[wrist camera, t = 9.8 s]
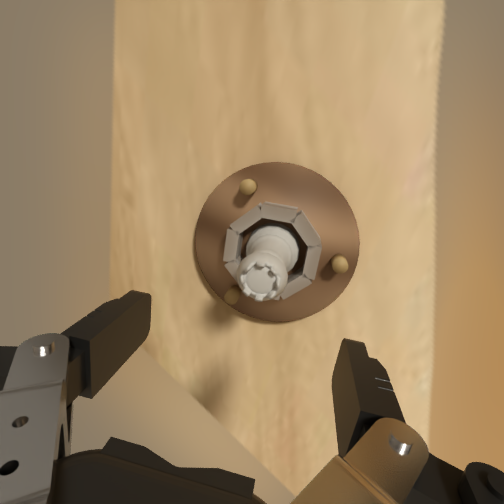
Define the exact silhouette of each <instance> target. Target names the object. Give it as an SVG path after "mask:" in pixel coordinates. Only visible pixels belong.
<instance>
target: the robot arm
mask: <svg viewBox="0 0 504 504" xmlns="http://www.w3.org/2000/svg"><path fill="white" fill-rule="evenodd" d="M150 321H151V295H150V294H148V293H143V292H139V291H135V290H131V291H129V292H128V293H127V294H125V295H124V296H123V297H121V298H120V299H114V300H111V301H109V302H106V303H104V304H102V305H101V306H99V307H98V308H97V309H95V311H92V312H91V313H89V314H88V315H87V317H86V316H85V317H84V318H82V319H81V320H80V321H78V322H77V323H75V324H74V325H72V326H71V327H70V328H68V329H67V330H65V331H64V332H62V333H61V334H57V333H48V334H42V335H38V336H35V337H32V338H30V339H28V340H26V341H24V342H23V343H21V345H19V346H18V347H12V346H10V347H9V346H0V504H266V503H265V502H264V501H263V500H262V499H260V498H259V497H257V496H256V495H254V494H253V489H254V483H255V479H253V478H249V477H245V476H242V475H239V474H236V473H232V472H229V471H225V470H222V469H219V468H181V467H176V466H174V465H172V464H170V463H169V462H167V461H166V460H164V459H163V458H161V457H160V456H158V455H157V454H155V453H154V452H152V451H151V450H149V449H148V448H146V447H144V446H141V445H137V444H134V443H131V442H127V441H124V440H120V439H117V438H113V437H111V438H110V439H109V440H108V442H107V443H106V445H105V446H104V447H103V449H95V450H88V451H83V452H78V453H75V454H72V455H70V451H71V435H72V419H73V401H74V400H75V399H76V398H77V396H78V395H79V396H83V397H86V398H90V399H92V398H93V397H94V396H95V395H96V394H97V393H98V391H99V390H100V389H101V388H102V387H103V386H104V385H105V384H106V383H107V382H108V380H109V379H110V378H111V377H112V376H113V375H114V374H115V373H116V372H117V371H118V369H119V368H120V367H121V366H122V365H123V364H124V363H125V362H126V361H127V359H128V358H129V357H130V356H131V355H132V354H133V353H134V352H135V351H136V350H137V349H138V347H139V346H140V345H141V344H142V343H143V342H144V341H145V339H146V338H147V336H148V333H149V330H150ZM332 394H333V404H334V413H335V423H336V432H337V442H338V451H339V454H338V455H336V456H335V457H333V458H332V459H331V461H330V462H329V463H328V464H327V465H326V466H325V467H324V468H323V469H322V470H321V471H320V472H319V473H318V474H317V475H316V476H315V478H314V479H313V480H312V481H311V482H310V483H309V484H308V485H307V486H306V487H305V488H304V489H303V490H302V491H301V492H300V493H299V495H298V496H297V497H296V498H295V499H294V500H293V501H292V502H291V503H290V504H504V473H503V472H502V471H500V470H498V469H497V468H495V467H493V466H491V465H488V464H485V463H481V462H472V463H469V464H468V465H467V467H466V468H465V470H464V471H462V470H460V469H458V468H456V467H454V466H452V465H450V464H448V463H447V462H445V461H443V460H441V459H439V458H437V457H435V456H434V455H432V454H431V453H429V451H428V447H427V445H426V443H425V441H424V440H423V438H422V437H421V436H420V435H419V434H418V433H417V432H416V431H415V430H414V429H413V428H411V427H410V426H409V425H407V424H406V422H405V420H404V417H403V414H402V411H401V409H400V406H399V403H398V401H397V398H396V395H395V393H394V392H393V387H392V385H391V383H390V379H389V377H388V374H387V371H386V369H385V368H384V367H383V366H382V365H381V363H380V362H379V361H378V360H377V359H374V358H370V357H369V356H368V353H367V350H366V347H365V344H364V343H363V342H359V341H354V340H350V339H345V338H344V339H343V340H342V343H341V346H340V350H339V353H338V357H337V360H336V364H335V367H334V371H333V376H332Z"/></svg>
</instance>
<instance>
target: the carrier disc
mask: <svg viewBox="0 0 504 504" xmlns="http://www.w3.org/2000/svg"><path fill="white" fill-rule="evenodd" d="M267 223H279V224H282V225H284V226H286V227H288V228H290V229H291V230H292V232H293V233H294V234H295V235H296V236H297V239H298V242H299V245H300V251H299V257H298V260H297V262H296V264H295V265H294V267H293V269H291V270H290V271H289V272H287V274H288V280H287V286H286V287H285V289H284V291H283V293H281V294H280V295H279V296H277V297H276V298H275V299H271V300H266V301H262V302H258V301H255V299H253V298H251V297H250V296H248V297H247V296H246V295H245V294H244V293H243V292H242V289H241V288H240V286H239V284H238V281H237V268H238V266H239V264H240V262H241V261H242V260H243V259H244V258H245V257H247V256H246V244H247V242H248V240H249V238H250V236H251V234H252V232H253V231H254V230H256V229H257V228H258V227H259V226H261V225H264V224H267ZM195 244H196V253H197V258H198V262H199V265H200V267H201V270H202V272H203V274H204V276H205V278H206V280H207V282H208V283H209V285H210V286H211V288H212V289H213V290H214V291H215V293H216V294H217V295H218V296H219V297H220V298H221V299H222V300H223V301H225V302H226V303H227V304H228V305H230V306H231V307H233V308H234V309H236V310H238V311H239V312H241V313H243V314H246V315H248V316H250V317H254V318H257V319H261V320H267V321H278V322H282V321H293V320H298V319H302V318H305V317H308V316H311V315H313V314H315V313H317V312H319V311H321V310H322V309H324V308H326V307H327V306H329V305H330V304H331V303H332V302H333V301H335V300H336V299H337V298H338V297H339V295H340V294H341V293H342V292H343V291H344V289H345V288H346V287H347V285H348V284H349V282H350V280H351V278H352V276H353V274H354V271H355V268H356V265H357V261H358V256H359V245H360V241H359V231H358V227H357V222H356V219H355V217H354V214H353V211H352V209H351V207H350V206H349V204H348V202H347V200H346V199H345V198H344V196H343V195H342V194H341V192H340V191H339V190H338V189H337V188H336V187H335V186H334V185H333V184H332V183H331V182H329V181H328V180H327V179H325V178H324V177H323V176H321V175H320V174H318V173H316V172H314V171H312V170H310V169H307V168H305V167H302V166H299V165H295V164H290V163H281V162H271V163H262V164H256V165H252V166H249V167H246V168H244V169H242V170H240V171H238V172H236V173H234V174H232V175H231V176H229V177H228V178H226V179H225V180H224V181H223V182H221V183H220V184H219V185H218V186H217V187H216V188H215V189H214V191H213V192H212V193H211V194H210V196H209V197H208V199H207V200H206V202H205V204H204V206H203V208H202V210H201V212H200V215H199V219H198V222H197V228H196V238H195Z"/></svg>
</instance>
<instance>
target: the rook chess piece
mask: <svg viewBox="0 0 504 504" xmlns="http://www.w3.org/2000/svg"><path fill="white" fill-rule="evenodd" d="M299 251H300V245H299V242H298V239H297V236H296V235H295V234H294V233H293V232H292V230H291V229H290V228H288V227H286V226H284V225H282V224H279V223H267V224H264V225H261V226H259V227H258V228H257V229H256V230H254V231H253V232H252V234H251V236H250V238H249V240H248V242H247V244H246V256H247V257H245V258H244V259H243V260H242V261H241V262H240V264H239V266H238V268H237V281H238V284H239V286H240V288H241V289H242V292H243V293H244V294H245V295H246V296H247V297H248V296H250V297H251V298H253V299H255V301H258V302H262V301H266V300H271V299H275V298H276V297H277V296H279V295H280V294H281V293H283V291H284V289H285V287H286V286H287V280H288V274H287V272H289V271H290V270H291V269H293V267H294V265H295V264H296V262H297V260H298V257H299Z"/></svg>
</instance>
